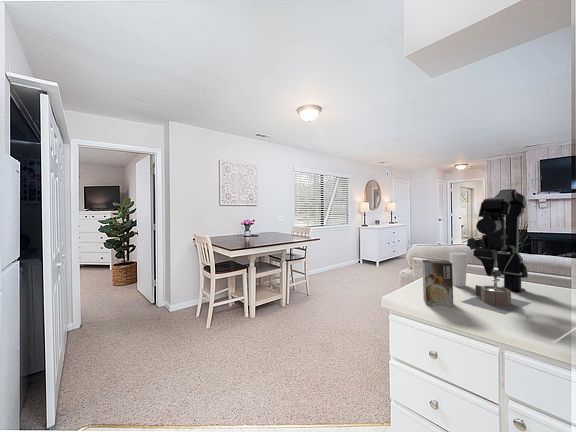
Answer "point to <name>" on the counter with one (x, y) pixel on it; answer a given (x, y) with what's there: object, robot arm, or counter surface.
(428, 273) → the coffee box
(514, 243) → the robot arm
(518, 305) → the mat
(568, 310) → the counter surface
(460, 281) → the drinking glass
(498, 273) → the silver stemmed round piece
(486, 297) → the brown octagonal ring
